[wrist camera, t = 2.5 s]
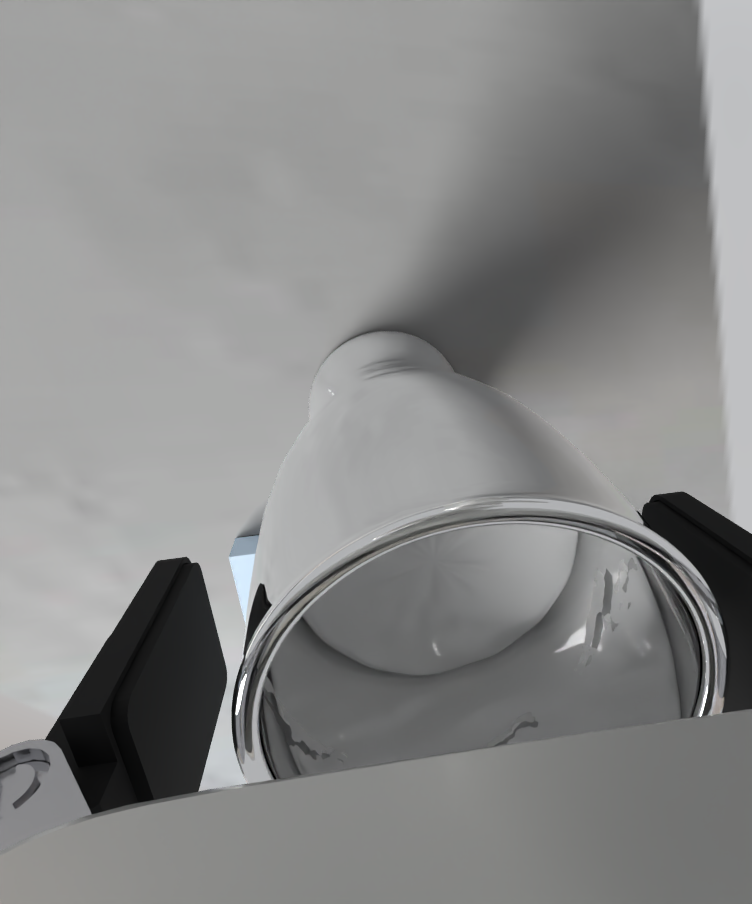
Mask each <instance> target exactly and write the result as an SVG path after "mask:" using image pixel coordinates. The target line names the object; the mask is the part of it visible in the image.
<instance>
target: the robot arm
mask: <svg viewBox="0 0 752 904" xmlns="http://www.w3.org/2000/svg"><path fill="white" fill-rule="evenodd" d="M642 516H643V517H644V519H645V520H646V521H647V522H648V523H649V524H650V525H651V526H652V527H653V528H654V529H655V530H656V531H657V532H658V533H659V534H660V535H661V537H663V538H664V539H665V540H667V541H668V542H669V543H671V544H672V545H673V546H674V547H676V548H677V549H678V550H679V551H680V552H681V553H682V554H683V555H684V556H685V557H686V558H687V559H688V560H689V561H690V562H691V563H692V564H693V565H694V566H695V567H696V569H697V570H698V571H699V572H700V574H701V575H702V576H703V578H704V579H705V581H706V582H707V584H708V585H709V587H710V589H711V590H712V592H713V594H714V596H715V598H716V600H717V602H718V604H719V606H720V609H721V611H722V614H723V617H724V620H725V623H726V627H727V631H728V637H729V644H730V655H731V671H730V682H729V688H728V694H727V699H726V702H725V706H724V709H723V712H722V713H720V714H713V715H705V716H698V717H691V718H684V719H677V720H670V721H663V722H656V723H649V724H642V725H635V726H628V727H621V728H614V729H607V730H600V731H593V732H587V733H580V734H573V735H566V736H559V737H552V738H546V739H539V740H532V741H525V742H518V743H512V744H505V745H498V746H491V747H485V748H478V749H471V750H465V751H458V752H451V753H444V754H438V755H431V756H424V757H418V758H411V759H405V760H398V761H392V762H385V763H379V764H372V765H366V766H359V767H353V768H346V769H340V770H333V771H327V772H320V773H314V774H307V775H301V776H294V777H288V778H281V779H275V780H268V781H262V782H255V783H249V784H242V785H236V786H229V787H222V788H216V789H210V790H204V791H199V787H200V783H201V779H202V776H203V772H204V768H205V764H206V760H207V757H208V753H209V749H210V745H211V742H212V738H213V734H214V730H215V726H216V723H217V719H218V715H219V711H220V707H221V704H222V700H223V696H224V692H225V689H226V684H227V670H226V665H225V661H224V657H223V653H222V649H221V645H220V641H219V637H218V633H217V629H216V626H215V622H214V618H213V614H212V610H211V606H210V602H209V598H208V594H207V590H206V586H205V583H204V579H203V575H202V571H201V568H200V565H199V564H198V563H191V562H190V560H189V558H187V557H182V558H175V559H167V560H160V561H157V562H156V563H155V565H154V567H153V568H152V570H151V571H150V573H149V575H148V576H147V578H146V579H145V581H144V583H143V584H142V586H141V588H140V589H139V591H138V592H137V594H136V596H135V597H134V599H133V600H132V602H131V604H130V605H129V607H128V608H127V610H126V612H125V613H124V615H123V617H122V618H121V620H120V621H119V623H118V625H117V626H116V628H115V629H114V631H113V633H112V634H111V636H110V637H109V638H108V639H107V641H106V642H105V644H104V646H103V647H102V649H101V650H100V652H99V654H98V655H97V657H96V658H95V660H94V662H93V663H92V665H91V666H90V668H89V670H88V671H87V673H86V674H85V676H84V678H83V679H82V681H81V682H80V684H79V686H78V687H77V689H76V691H75V692H74V694H73V695H72V697H71V699H70V700H69V702H68V703H67V705H66V707H65V708H64V710H63V711H62V713H61V715H60V716H59V718H58V719H57V721H56V723H55V724H54V726H53V728H52V729H51V731H50V732H49V734H48V736H47V737H46V739H45V740H44V739H42V740H28V741H25V742H22V743H18V744H15V745H11V746H10V747H7V748H5V749H3V750H1V751H0V904H752V534H751V533H749V532H748V531H746V530H744V529H743V528H741V527H739V526H738V525H737V524H735V523H733V522H732V521H730V520H729V519H727V518H725V517H724V516H722V515H721V514H719V513H717V512H716V511H714V510H713V509H711V508H709V507H708V506H706V505H705V504H703V503H702V502H700V501H698V500H697V499H695V498H694V497H692V496H690V495H689V494H687V493H685V492H675V493H667V494H659V495H654V496H653V497H651V499H650V501H649V503H646V504H645V505H644V507H643V511H642ZM198 791H199V792H198Z"/></svg>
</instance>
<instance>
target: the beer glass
mask: <svg viewBox="0 0 752 904" xmlns="http://www.w3.org/2000/svg"><path fill="white" fill-rule="evenodd" d="M308 410H309V421H308V422H307V424H306V425H305V426H304V428H303V429H302V431H301V432H300V434H299V435H298V437H297V439H296V440H295V442H294V443H293V445H292V446H291V448H290V450H289V451H288V453H287V455H286V456H285V458H284V460H283V462H282V464H281V467H280V469H279V471H278V474H277V477H276V479H275V482H274V485H273V488H272V491H271V494H270V496H269V499H268V502H267V505H266V508H265V511H264V515H263V519H262V524H261V528H260V533H259V538H258V543H257V547H256V552H255V557H254V561H253V568H252V576H251V583H250V590H249V598H248V605H247V614H246V623H245V633H244V643H243V652H242V660H241V666H240V669H239V672H238V675H237V679H236V683H235V688H234V693H233V701H232V734H233V743H234V748H235V752H236V756H237V760H238V763H239V766H240V769H241V771H242V774H243V776H244V778H245V780H246V782H247V784H249V783H255V782H262V781H268V780H275V779H281V778H288V777H294V776H301V775H307V774H314V773H320V772H327V771H333V770H340V769H346V768H353V767H359V766H366V765H372V764H379V763H385V762H392V761H398V760H405V759H411V758H418V757H424V756H431V755H438V754H444V753H451V752H458V751H465V750H471V749H478V748H485V747H491V746H498V745H505V744H512V743H518V742H525V741H532V740H539V739H546V738H552V737H559V736H566V735H573V734H580V733H587V732H593V731H600V730H607V729H614V728H621V727H628V726H635V725H642V724H649V723H656V722H663V721H670V720H677V719H684V718H691V717H698V716H705V715H713V714H720V713H722V712H723V709H724V706H725V702H726V699H727V694H728V688H729V682H730V671H731V655H730V644H729V637H728V631H727V627H726V623H725V620H724V617H723V614H722V611H721V609H720V606H719V604H718V602H717V600H716V598H715V596H714V594H713V592H712V590H711V589H710V587H709V585H708V584H707V582H706V581H705V579H704V578H703V576H702V575H701V574H700V572H699V571H698V570H697V569H696V567H695V566H694V565H693V564H692V563H691V562H690V561H689V560H688V559H687V558H686V557H685V556H684V555H683V554H682V553H681V552H680V551H679V550H678V549H677V548H676V547H674V546H673V545H672V544H671V543H669V542H668V541H667V540H665V539H664V538H663V537H661V535H660V534H659V533H658V532H657V531H656V530H655V529H654V528H653V527H652V526H651V525H650V524H649V523H648V522H647V521H646V520H645V519H644V517H643V516H642V515H641V514H640V513H639V512H638V511H637V510H636V508H635V507H634V506H633V505H632V504H631V503H630V502H629V501H628V500H627V498H626V497H625V496H624V495H623V494H622V493H621V492H620V491H619V490H618V489H617V488H616V486H615V485H614V484H613V483H612V482H611V481H610V480H609V479H608V478H607V477H606V476H605V475H604V474H603V473H602V472H601V471H600V470H599V469H598V468H597V467H596V466H595V464H594V463H593V462H592V461H591V460H590V459H589V458H588V457H587V456H586V455H585V454H583V453H582V452H581V451H580V450H579V449H578V448H577V447H576V446H575V445H573V444H572V443H571V442H570V441H569V440H568V439H567V438H566V437H565V436H563V435H562V434H561V433H560V432H559V431H558V430H557V429H556V428H554V427H553V426H552V425H551V424H550V423H548V422H547V421H546V420H545V419H543V418H542V417H540V416H539V415H537V414H536V413H535V412H533V411H532V410H530V409H529V408H527V407H526V406H524V405H523V404H521V403H520V402H519V401H517V400H516V399H514V398H513V397H511V396H509V395H508V394H506V393H504V392H502V391H501V390H498V389H496V388H494V387H492V386H489V385H487V384H484V383H482V382H479V381H477V380H474V379H472V378H469V377H467V376H464V375H461V374H458V373H455V372H454V370H453V368H452V367H451V365H450V364H449V362H448V361H447V360H446V358H445V357H444V356H443V355H442V354H441V353H440V352H439V351H438V350H437V349H436V348H435V347H433V346H432V345H431V344H429V343H428V342H426V341H424V340H423V339H421V338H418V337H416V336H413V335H410V334H407V333H403V332H397V331H377V332H371V333H367V334H363V335H360V336H357V337H355V338H353V339H351V340H349V341H347V342H345V343H344V344H342V345H341V346H339V347H338V348H337V349H336V350H334V351H333V352H332V353H331V354H330V355H329V356H328V357H327V359H326V360H325V361H324V362H323V364H322V365H321V367H320V368H319V370H318V372H317V374H316V376H315V378H314V380H313V383H312V386H311V390H310V395H309V405H308Z"/></svg>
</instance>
